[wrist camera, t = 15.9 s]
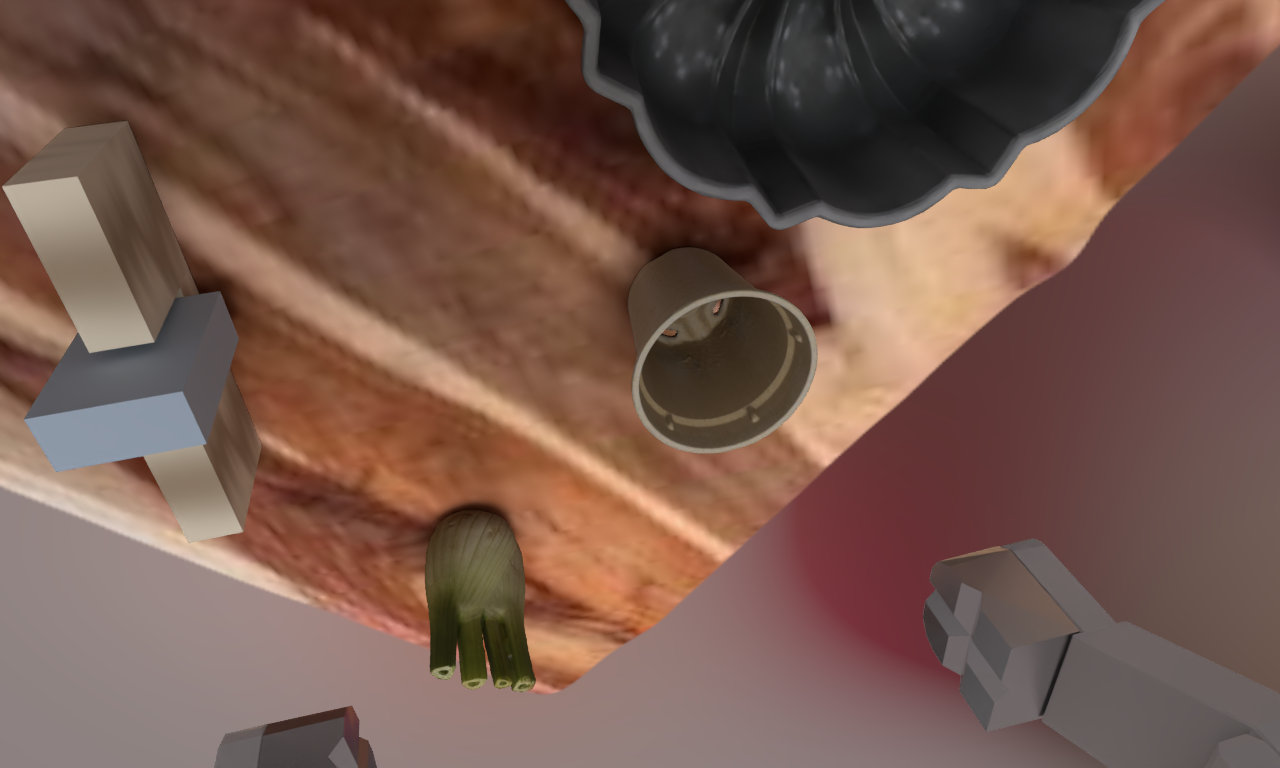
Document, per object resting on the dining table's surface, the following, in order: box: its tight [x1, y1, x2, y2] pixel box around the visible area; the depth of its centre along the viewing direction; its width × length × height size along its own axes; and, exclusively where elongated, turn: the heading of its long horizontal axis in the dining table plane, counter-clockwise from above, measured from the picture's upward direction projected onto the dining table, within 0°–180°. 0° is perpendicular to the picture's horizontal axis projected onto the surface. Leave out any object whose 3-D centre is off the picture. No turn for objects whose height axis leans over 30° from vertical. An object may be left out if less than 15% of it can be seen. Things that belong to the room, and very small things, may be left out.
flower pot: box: [628, 247, 818, 453], centre depth 44 cm, size 9×9×9 cm
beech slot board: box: [2, 121, 262, 543], centre depth 38 cm, size 18×2×7 cm, turn 4°
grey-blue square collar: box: [24, 291, 239, 472], centre depth 36 cm, size 6×3×8 cm, turn 94°
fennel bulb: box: [425, 510, 536, 692], centre depth 48 cm, size 6×5×12 cm
